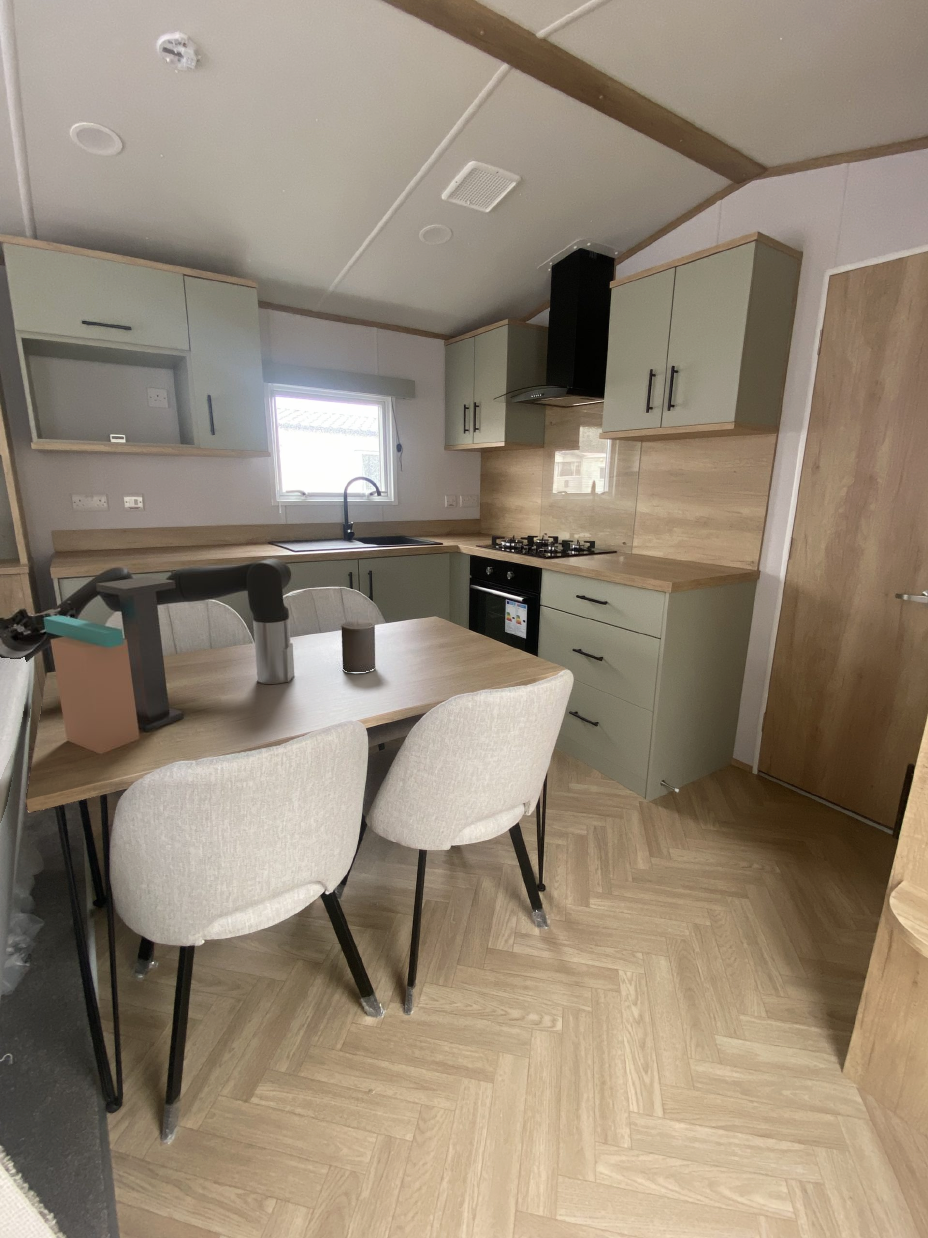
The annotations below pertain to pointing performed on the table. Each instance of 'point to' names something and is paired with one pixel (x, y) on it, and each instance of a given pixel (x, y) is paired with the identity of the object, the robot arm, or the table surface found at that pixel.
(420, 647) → the table surface
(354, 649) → the pillar candle
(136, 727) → the base block
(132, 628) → the stand
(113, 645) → the teal bar
